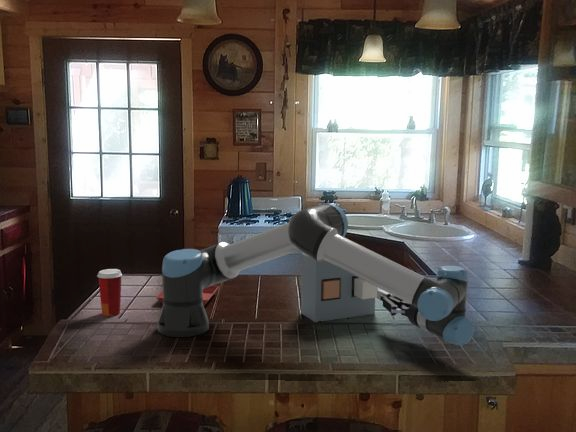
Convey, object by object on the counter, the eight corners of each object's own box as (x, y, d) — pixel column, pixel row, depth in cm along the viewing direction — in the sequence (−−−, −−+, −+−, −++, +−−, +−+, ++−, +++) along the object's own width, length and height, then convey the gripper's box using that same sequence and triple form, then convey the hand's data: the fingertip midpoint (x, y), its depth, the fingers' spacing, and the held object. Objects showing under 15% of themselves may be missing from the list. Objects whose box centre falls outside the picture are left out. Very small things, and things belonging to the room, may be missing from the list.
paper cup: (125, 310, 207) (124, 268, 205) (120, 317, 199) (119, 274, 197) (101, 310, 207) (100, 268, 205) (95, 317, 199) (93, 274, 197)
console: (300, 313, 205) (301, 253, 202) (358, 305, 215) (360, 248, 212) (315, 322, 196) (316, 259, 193) (374, 313, 206) (376, 254, 203)
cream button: (354, 295, 201) (354, 278, 200) (368, 293, 203) (369, 276, 202) (362, 299, 196) (362, 282, 196) (377, 297, 199) (377, 280, 198)
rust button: (316, 295, 201) (316, 278, 200) (331, 293, 203) (331, 276, 202) (323, 299, 196) (324, 282, 195) (339, 297, 198) (339, 280, 198)
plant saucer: (219, 294, 228) (219, 285, 228) (208, 308, 211) (207, 299, 210) (170, 292, 230) (170, 283, 230) (155, 306, 212) (155, 297, 212)
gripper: (406, 332, 170) (360, 308, 191) (445, 325, 175) (396, 303, 196) (407, 305, 169) (361, 284, 190) (446, 299, 174) (397, 280, 195)
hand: (379, 294), depth 193 cm, fingers closed
